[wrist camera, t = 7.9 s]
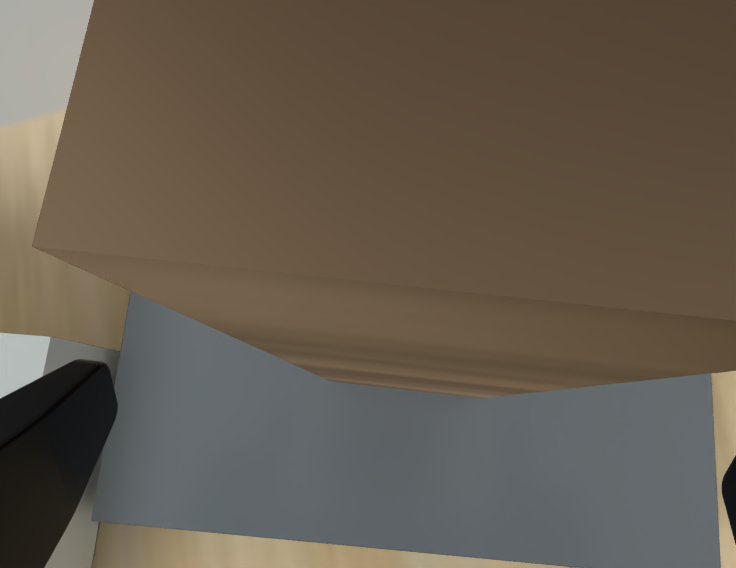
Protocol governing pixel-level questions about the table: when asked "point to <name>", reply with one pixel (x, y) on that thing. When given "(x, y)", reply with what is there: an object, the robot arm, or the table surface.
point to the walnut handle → (415, 183)
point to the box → (26, 364)
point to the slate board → (404, 458)
